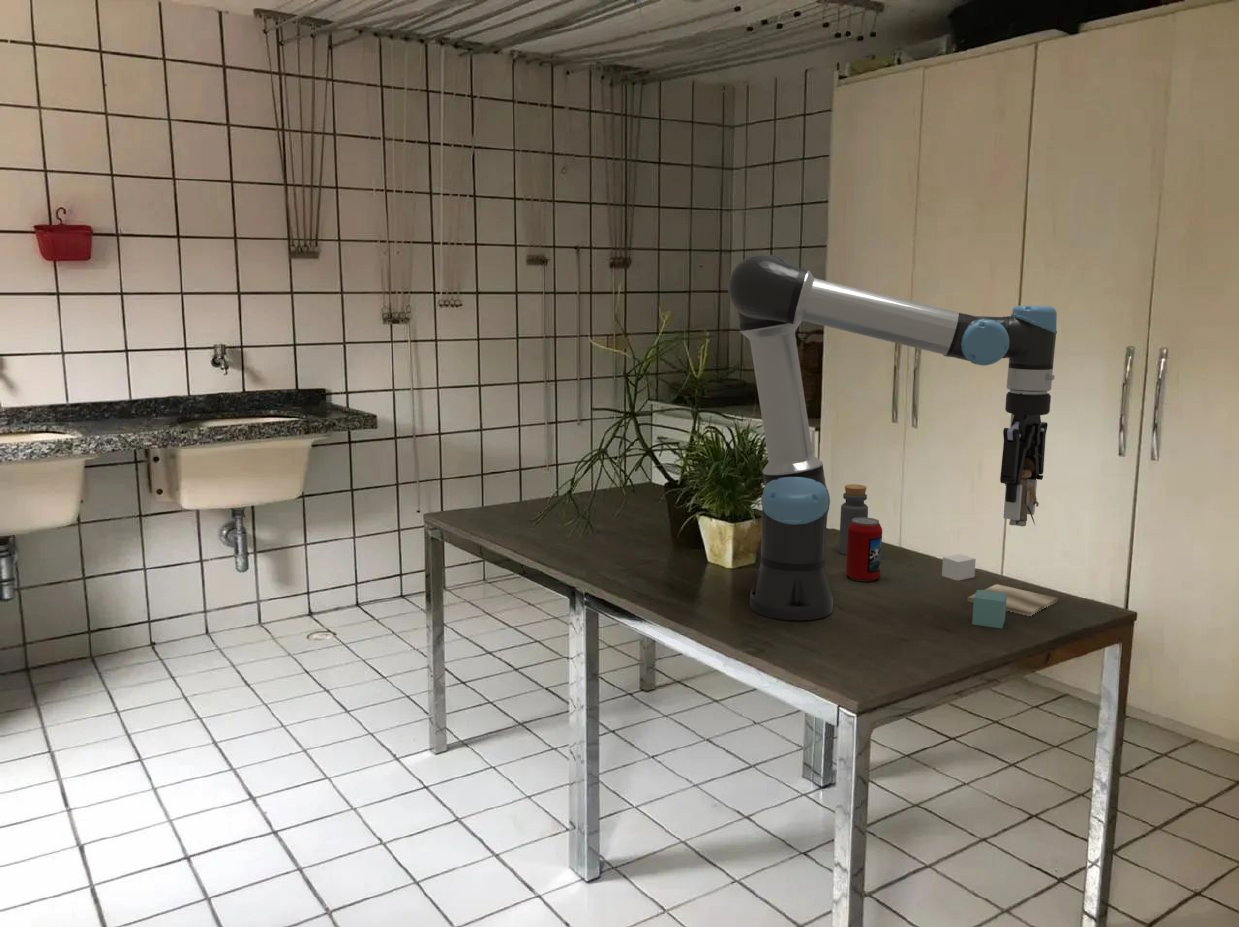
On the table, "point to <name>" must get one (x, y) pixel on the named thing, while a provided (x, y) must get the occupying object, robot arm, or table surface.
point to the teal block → (989, 609)
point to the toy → (1026, 493)
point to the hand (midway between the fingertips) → (1019, 515)
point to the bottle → (851, 511)
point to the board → (1021, 600)
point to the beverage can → (864, 549)
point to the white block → (958, 567)
